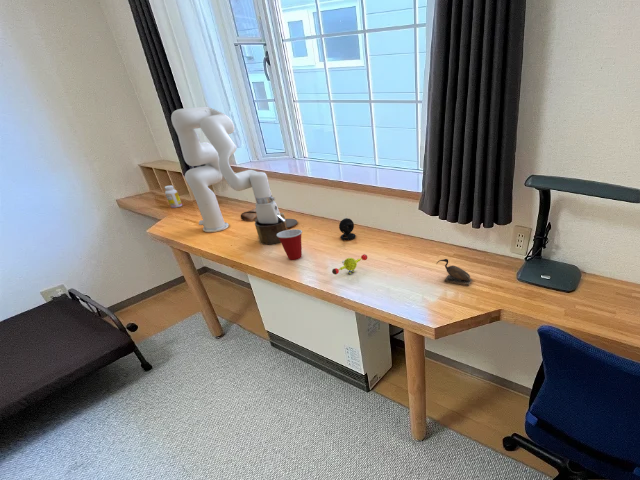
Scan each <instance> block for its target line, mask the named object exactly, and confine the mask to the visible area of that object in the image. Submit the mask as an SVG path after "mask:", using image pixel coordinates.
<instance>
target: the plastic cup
mask: <svg viewBox="0 0 640 480" xmlns="http://www.w3.org/2000/svg"><path fill="white" fill-rule="evenodd" d="M302 235H303V230H302V229H298V228H296V229H295V228H293V229H292V228H291V229H287V230H285V231H282V232H279V233H277V235H276V236H277V237H278V238H279V240H280V242H281V243H280V244H281V246H282V248H283V251H284V252H285V254H286V256H287V258H288V260H290V261H296V260H299V259H301V258H302V256H303V254H302V248H303V247H302Z"/></svg>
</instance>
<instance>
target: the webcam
mask: <svg viewBox="0 0 640 480" xmlns="http://www.w3.org/2000/svg"><path fill="white" fill-rule="evenodd" d="M354 228H355V224H354V221H353V220H352V219H351V218H348V217H346V218H343V219H341V220H340V222H339V224H338V229H339V231H340V232H341V235H340V240H342V241H353V240H355V238H357V237H356V234H355V233H354V232H353V230H354Z"/></svg>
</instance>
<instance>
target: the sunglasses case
mask: <svg viewBox="0 0 640 480" xmlns="http://www.w3.org/2000/svg"><path fill="white" fill-rule="evenodd" d="M256 218H257V213H256V207H254V208H252V209H250V210H248V211H244V212H242V213H240V219H241V220H242V221H243V222H254V221H255V219H256Z"/></svg>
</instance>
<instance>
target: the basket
mask: <svg viewBox="0 0 640 480" xmlns="http://www.w3.org/2000/svg"><path fill="white" fill-rule="evenodd" d="M282 218H283V217H282ZM283 219H284V218H283ZM285 219H286V218H285ZM285 219H284V220H285ZM254 226H255V229H256V233H257V237H258V240H259V243H260V244H261V245H264V246H275V245H279V244H281V242H280V240H279V238H278V237H277V236H276V235H277V233H279V232H282V231H285V230H288V228H287V226H286V222H285V223H283V222H281V221H279V224H276V225H274V224H266V226H259V225H258V222H255V221H254Z"/></svg>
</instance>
